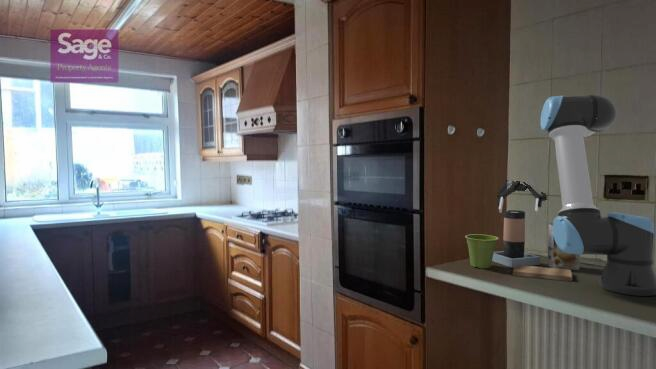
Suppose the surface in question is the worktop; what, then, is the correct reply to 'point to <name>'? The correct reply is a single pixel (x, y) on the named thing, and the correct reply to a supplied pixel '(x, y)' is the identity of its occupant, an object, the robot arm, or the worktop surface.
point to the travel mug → (514, 234)
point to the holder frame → (516, 259)
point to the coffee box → (560, 255)
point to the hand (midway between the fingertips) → (517, 211)
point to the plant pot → (481, 249)
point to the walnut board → (542, 272)
